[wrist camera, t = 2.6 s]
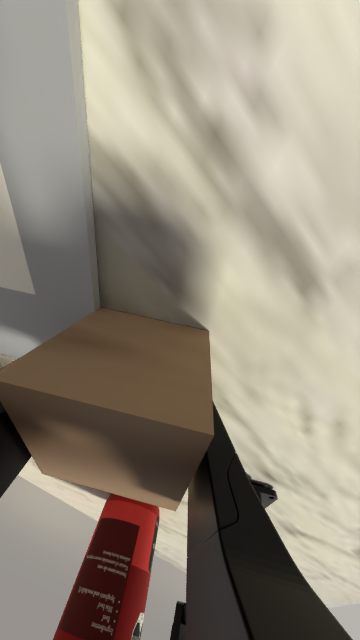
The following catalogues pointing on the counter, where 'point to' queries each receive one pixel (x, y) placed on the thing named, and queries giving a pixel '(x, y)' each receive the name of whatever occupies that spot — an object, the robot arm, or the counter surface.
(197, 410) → the walnut block
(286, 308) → the counter surface
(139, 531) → the canned food
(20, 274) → the build mat
